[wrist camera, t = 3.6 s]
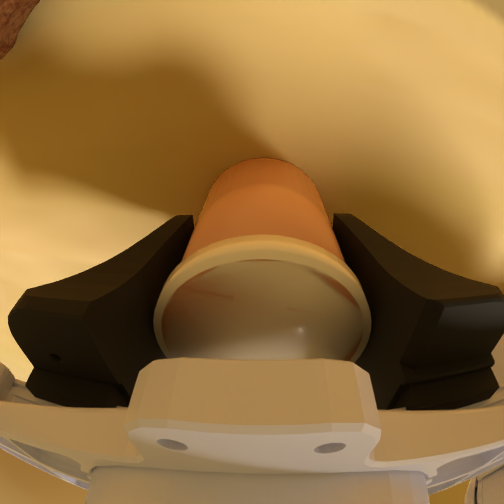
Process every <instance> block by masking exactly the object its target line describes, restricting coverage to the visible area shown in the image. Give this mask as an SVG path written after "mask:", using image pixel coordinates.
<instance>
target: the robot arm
mask: <svg viewBox="0 0 504 504" xmlns="http://www.w3.org/2000/svg"><path fill="white" fill-rule="evenodd" d="M193 231H194V223H193V215H178V216H175V217H173V218H172V219H170V220H169V221H167V222H166V223H164V224H163V225H161V226H160V227H159V228H157V229H156V230H154V231H153V232H152V233H150V234H149V235H148V236H146V237H145V238H143V239H142V240H140V241H139V242H137V243H136V244H134V245H133V246H131V247H130V248H128V249H127V250H125V251H123V252H122V253H120V254H118V255H116V256H115V257H113V258H111V259H109V260H107V261H105V262H103V263H101V264H99V265H97V266H95V267H92V268H90V269H88V270H86V271H84V272H81V273H79V274H76V275H73V276H71V277H68V278H65V279H62V280H59V281H56V282H53V283H49V284H45V285H42V286H38V287H34V288H30V289H27V290H26V291H25V292H24V294H23V295H22V296H21V298H20V299H19V300H18V302H17V303H16V304H15V306H14V307H13V309H12V310H11V311H10V313H9V315H8V325H9V328H10V331H11V334H12V335H13V337H14V339H15V341H16V342H17V344H18V345H19V347H20V348H21V349H22V351H23V352H24V354H25V355H26V356H27V358H28V359H29V361H30V362H31V363H32V365H33V366H34V368H33V370H32V372H31V374H30V376H29V378H28V380H27V382H24V381H21V380H18V379H15V377H14V375H13V374H12V373H11V371H10V370H9V369H8V368H7V367H6V366H5V365H4V364H2V363H1V362H0V448H1V449H3V450H5V451H6V452H8V453H10V454H12V455H14V456H15V457H17V458H19V459H21V460H23V461H25V462H27V463H29V464H30V465H32V466H34V467H37V468H38V469H41V470H43V471H45V472H47V473H49V474H51V475H53V476H55V477H58V478H60V479H62V480H64V481H66V482H69V483H71V484H73V485H76V486H78V487H81V488H84V489H86V490H88V493H87V497H86V501H85V504H430V502H429V495H431V494H434V493H437V492H439V491H442V490H445V489H447V488H450V487H452V486H455V485H457V484H460V483H462V482H464V481H466V480H469V479H471V480H470V483H469V486H468V489H467V492H466V495H465V503H464V504H504V295H503V293H502V292H501V291H500V289H499V288H498V287H497V286H493V285H489V284H485V283H481V282H478V281H474V280H470V279H467V278H464V277H461V276H458V275H455V274H453V273H450V272H448V271H445V270H443V269H440V268H438V267H436V266H433V265H431V264H429V263H427V262H425V261H423V260H421V259H419V258H417V257H415V256H413V255H412V254H410V253H408V252H406V251H404V250H403V249H401V248H400V247H398V246H396V245H395V244H393V243H392V242H390V241H389V240H387V239H386V238H384V237H383V236H381V235H380V234H379V233H377V232H376V231H374V230H373V229H372V228H370V227H369V226H368V225H366V224H365V223H363V222H362V221H361V220H359V219H358V218H356V217H355V216H353V215H351V214H334V219H333V231H334V233H335V236H336V239H337V242H338V244H339V247H340V250H341V252H342V255H343V258H344V261H345V264H346V265H347V266H348V267H349V268H350V269H351V270H352V272H353V273H354V274H355V275H356V277H357V279H358V280H359V282H360V284H361V286H362V289H363V292H364V295H365V297H366V300H367V303H368V306H369V309H370V313H371V320H372V322H371V332H370V337H369V340H368V342H367V345H366V347H365V349H364V351H363V352H362V354H361V355H360V357H359V358H358V359H357V360H356V362H355V363H353V362H349V361H342V360H333V359H324V358H317V359H285V360H240V359H208V358H189V357H180V358H170V359H168V358H167V357H166V356H165V354H164V353H163V351H162V350H161V348H160V346H159V344H158V342H157V340H156V336H155V332H154V324H153V319H154V311H155V308H156V305H157V302H158V299H159V296H160V294H161V291H162V289H163V286H164V284H165V282H166V280H167V279H168V277H169V275H170V274H171V273H172V271H173V270H174V269H175V268H176V267H177V266H178V265H179V264H180V263H181V262H182V259H183V256H184V254H185V251H186V248H187V246H188V243H189V241H190V238H191V236H192V233H193Z"/></svg>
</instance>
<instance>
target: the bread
mask: <svg viewBox="0 0 504 504" xmlns="http://www.w3.org/2000/svg"><path fill="white" fill-rule="evenodd" d="M39 1H40V0H0V60H1V59H2V58H3V57H4V56H5V55H6V54H7V52H8V51H9V50H10V49H11V48H12V47H13V46H14V44H15V41H16V38H17V36H18V33H19V30H20V29H21V27H22V25H23V24H24V22H25V20H26V19H27V17H28V15H29V14H30V12H31V11H32V10H33V8H34V7H35V6H36V5H37V4H38V3H39Z"/></svg>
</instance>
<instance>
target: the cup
mask: <svg viewBox="0 0 504 504" xmlns="http://www.w3.org/2000/svg"><path fill="white" fill-rule="evenodd" d="M371 322H372V320H371V313H370V309H369V306H368V303H367V300H366V297H365V295H364V292H363V289H362V286H361V284H360V282H359V280H358V279H357V277H356V275H355V274H354V273H353V272H352V270H351V269H350V268H349V267H348V266H347V265H346V264H345V261H344V258H343V255H342V252H341V250H340V247H339V244H338V242H337V239H336V236H335V233H334V231H333V228H332V225H331V223H330V220H329V218H328V215H327V213H326V210H325V207H324V205H323V202H322V200H321V197H320V195H319V193H318V190H317V188H316V186H315V185H314V183H313V182H312V180H311V179H310V178H309V177H308V176H307V175H306V174H305V173H304V172H303V171H301V170H300V169H299V168H297V167H295V166H294V165H292V164H290V163H287V162H284V161H281V160H277V159H272V158H255V159H250V160H246V161H243V162H240V163H238V164H236V165H234V166H232V167H230V168H229V169H227V170H226V171H225V172H223V173H222V174H221V175H220V176H219V177H218V179H217V180H216V181H215V182H214V184H213V186H212V187H211V189H210V191H209V194H208V196H207V199H206V201H205V203H204V206H203V208H202V211H201V213H200V216H199V218H198V221H197V223H196V226H195V228H194V231H193V233H192V236H191V238H190V241H189V243H188V246H187V248H186V251H185V254H184V256H183V259H182V262H181V263H180V264H179V265H178V266H177V267H176V268H175V269H174V270H173V271H172V273H171V274H170V275H169V277H168V279H167V280H166V282H165V284H164V286H163V289H162V291H161V294H160V296H159V299H158V302H157V305H156V308H155V311H154V319H153V324H154V332H155V336H156V340H157V342H158V344H159V346H160V348H161V350H162V351H163V353H164V354H165V356H166V357H167V358H168V359H170V358H180V357H189V358H208V359H240V360H285V359H317V358H324V359H333V360H342V361H349V362H353V363H355V362H356V360H357V359H358V358H359V357H360V355H361V354H362V352H363V351H364V349H365V347H366V345H367V342H368V340H369V337H370V332H371Z"/></svg>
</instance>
